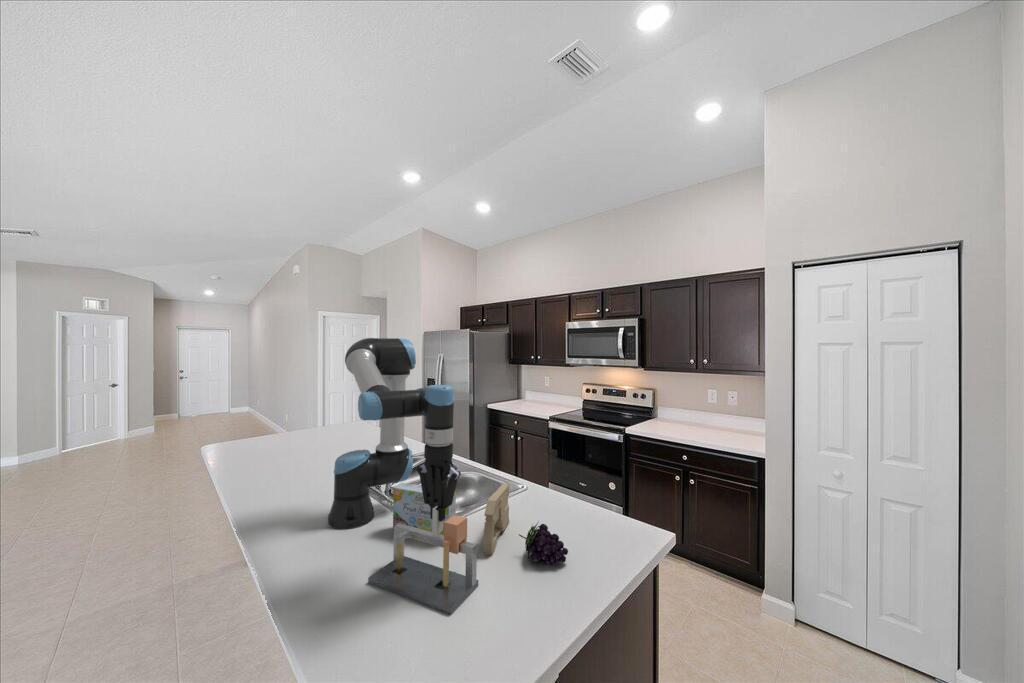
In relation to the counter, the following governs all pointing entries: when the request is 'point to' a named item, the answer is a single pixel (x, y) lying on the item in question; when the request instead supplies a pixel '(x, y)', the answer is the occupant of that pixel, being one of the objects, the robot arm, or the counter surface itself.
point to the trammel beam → (426, 536)
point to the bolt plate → (423, 584)
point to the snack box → (415, 507)
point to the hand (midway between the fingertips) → (437, 531)
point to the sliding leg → (452, 541)
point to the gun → (495, 518)
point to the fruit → (544, 545)
